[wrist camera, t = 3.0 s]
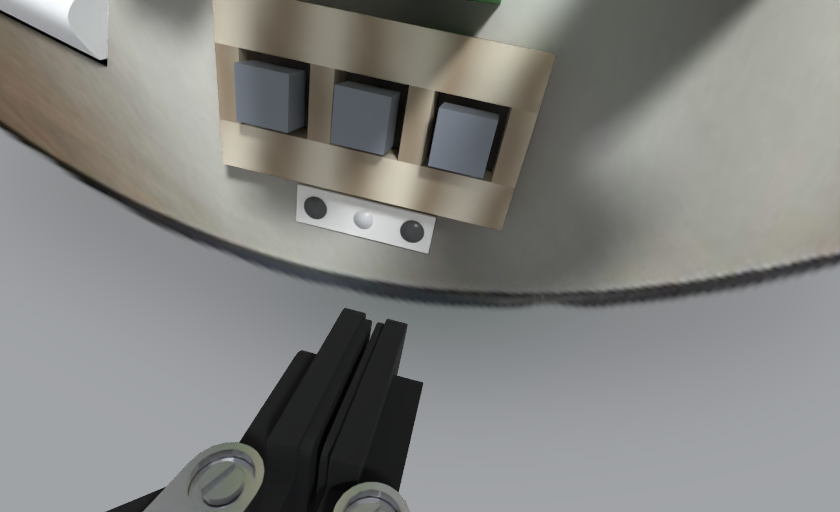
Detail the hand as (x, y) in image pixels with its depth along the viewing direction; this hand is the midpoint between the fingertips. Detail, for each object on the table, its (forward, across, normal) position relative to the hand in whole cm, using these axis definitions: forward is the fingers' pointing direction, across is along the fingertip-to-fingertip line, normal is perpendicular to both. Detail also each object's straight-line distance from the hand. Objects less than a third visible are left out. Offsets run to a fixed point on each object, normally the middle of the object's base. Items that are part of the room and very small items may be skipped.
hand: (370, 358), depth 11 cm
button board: (+28, +8, 0) cm, 29 cm away
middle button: (+26, +8, 0) cm, 27 cm away
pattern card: (+28, +8, +10) cm, 31 cm away
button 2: (+26, 0, 0) cm, 26 cm away
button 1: (+26, +16, 0) cm, 31 cm away
